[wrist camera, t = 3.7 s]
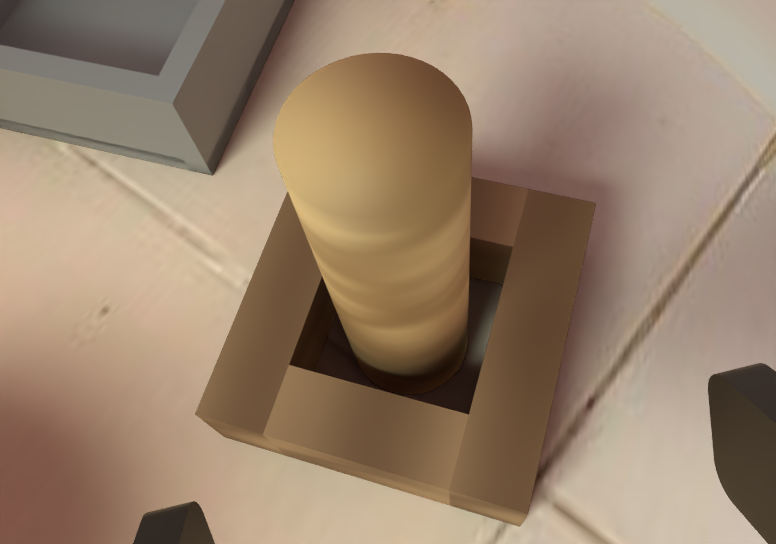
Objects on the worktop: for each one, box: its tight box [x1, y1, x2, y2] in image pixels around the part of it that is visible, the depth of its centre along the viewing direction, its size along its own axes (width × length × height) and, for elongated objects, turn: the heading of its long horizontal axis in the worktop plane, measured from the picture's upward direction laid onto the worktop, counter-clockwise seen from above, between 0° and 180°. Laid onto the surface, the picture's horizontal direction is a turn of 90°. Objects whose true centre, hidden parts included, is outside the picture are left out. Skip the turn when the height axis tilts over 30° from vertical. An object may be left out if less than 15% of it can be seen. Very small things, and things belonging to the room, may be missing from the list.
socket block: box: [195, 177, 596, 527], centre depth 24 cm, size 10×10×3 cm
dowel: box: [273, 53, 472, 394], centre depth 20 cm, size 4×4×12 cm
